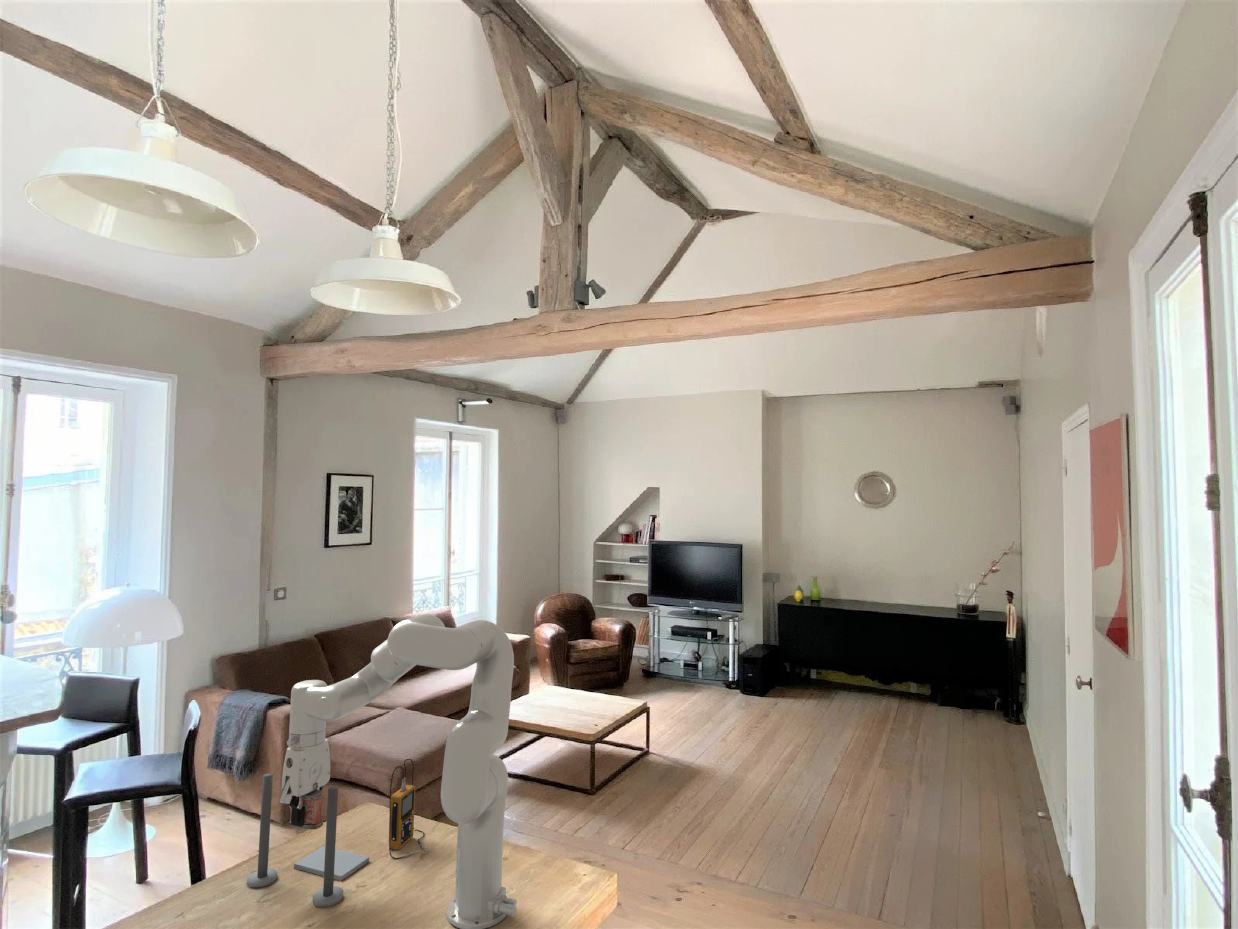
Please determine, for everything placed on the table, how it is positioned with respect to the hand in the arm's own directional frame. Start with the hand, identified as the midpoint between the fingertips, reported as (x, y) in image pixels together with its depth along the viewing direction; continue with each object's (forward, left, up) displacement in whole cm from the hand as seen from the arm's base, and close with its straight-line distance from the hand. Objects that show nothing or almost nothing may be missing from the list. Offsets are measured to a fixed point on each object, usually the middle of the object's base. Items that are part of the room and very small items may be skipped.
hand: (303, 821), depth 147 cm
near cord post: (-9, +2, -14) cm, 17 cm away
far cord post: (+10, +2, -14) cm, 17 cm away
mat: (0, -9, -14) cm, 17 cm away
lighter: (0, -1, -1) cm, 2 cm away
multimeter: (-12, -24, -14) cm, 31 cm away
